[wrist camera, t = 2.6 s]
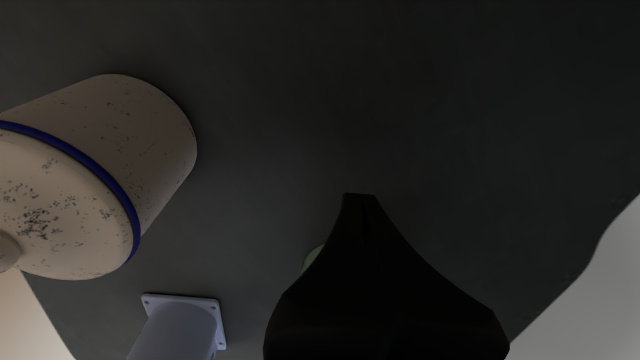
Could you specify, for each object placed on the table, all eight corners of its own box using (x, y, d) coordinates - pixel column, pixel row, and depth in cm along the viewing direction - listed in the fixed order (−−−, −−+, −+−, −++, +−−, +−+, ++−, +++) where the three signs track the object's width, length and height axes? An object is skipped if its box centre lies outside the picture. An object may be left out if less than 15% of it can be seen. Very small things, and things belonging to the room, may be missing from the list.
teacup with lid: (59, 48, 18) (-251, 123, 9) (208, 93, 20) (82, 204, 10) (84, 197, 25) (-78, 336, 15) (195, 224, 26) (111, 370, 16)
